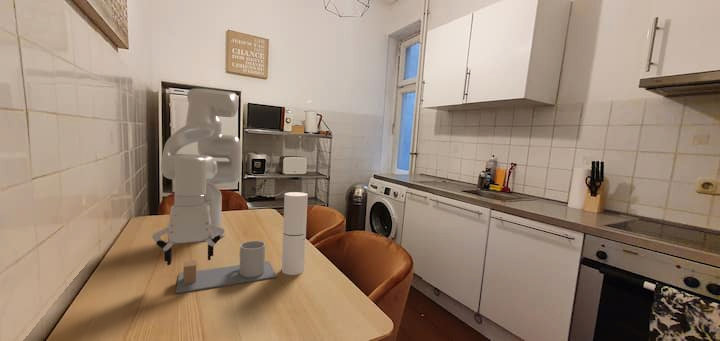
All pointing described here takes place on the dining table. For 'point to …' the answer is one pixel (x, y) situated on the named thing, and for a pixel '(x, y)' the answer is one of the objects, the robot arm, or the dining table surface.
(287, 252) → the cylindrical container
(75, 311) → the dining table surface
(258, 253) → the cup
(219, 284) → the strip
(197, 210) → the robot arm
